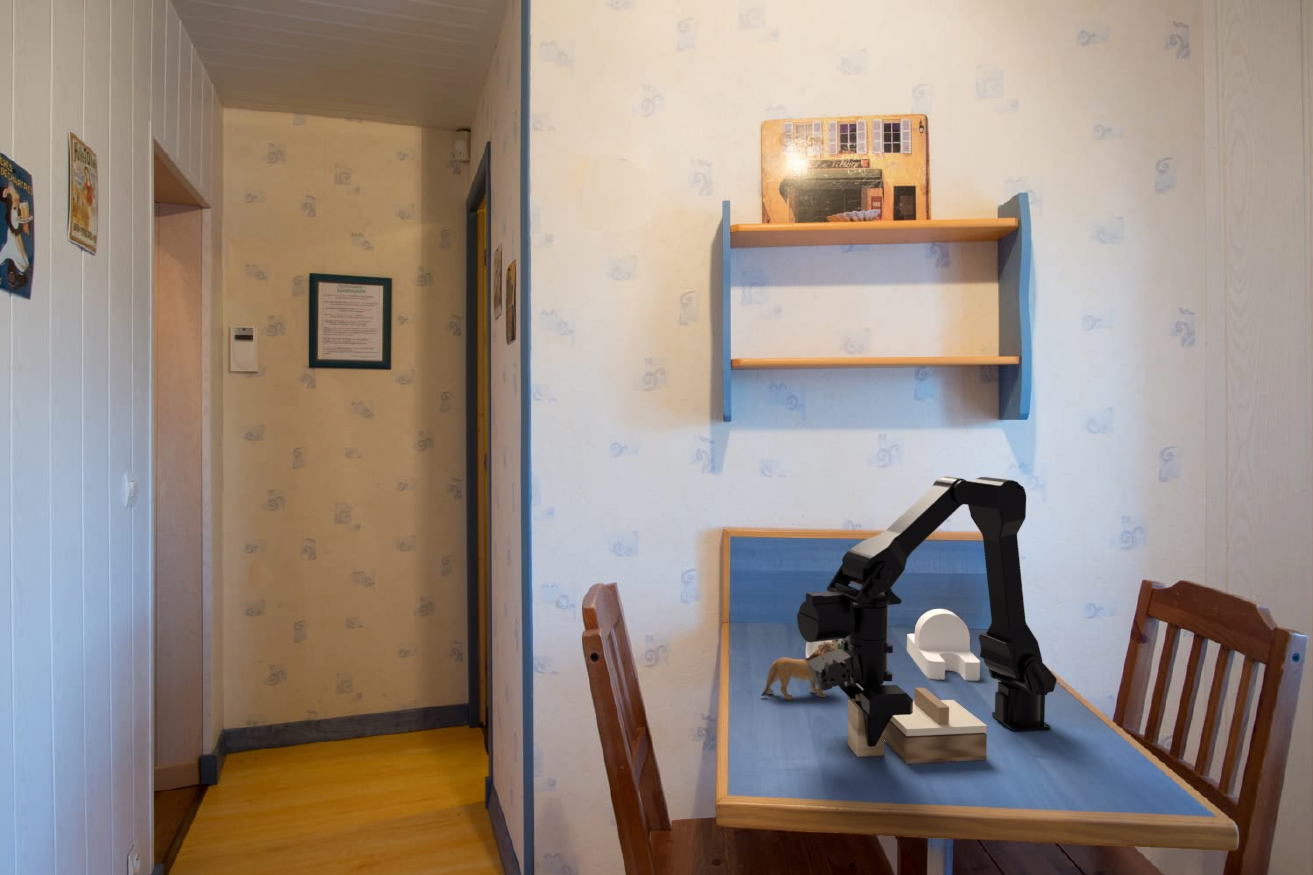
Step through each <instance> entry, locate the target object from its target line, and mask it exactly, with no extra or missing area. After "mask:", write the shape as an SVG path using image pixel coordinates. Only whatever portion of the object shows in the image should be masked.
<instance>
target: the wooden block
mask: <svg viewBox="0 0 1313 875" xmlns="http://www.w3.org/2000/svg"><path fill="white" fill-rule="evenodd" d="M854 701H860V694H856V699H848V698H847V702H848V703H847V704H848V705H847V707H848V708H847V709H848V710H847V713H848V714H847V746H848V747H849V749H851V751H852V752H853V754H854V755H855V756H856V757H858V758H859V757H861V758H862V757H878V756H885V741H884V732H883V733H882V735H881V737H880V739H879V741H878V742H877V744H876V746H873V747H869V746H868V745H867V739H866V732H865V724H864V715H863V711H862V710H861V709H860V708H859V707H858V706H857V705H856V704H855V703H854ZM884 731H885V730H884Z"/></svg>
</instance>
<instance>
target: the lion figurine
mask: <svg viewBox="0 0 1313 875" xmlns="http://www.w3.org/2000/svg"><path fill="white" fill-rule="evenodd" d="M836 650H838V645H836V644H834V643H832V642H829V641H828V642H824V643H821V644H819V645H818V649H817V650H816V651H815V652H813V654H812V655H810V656H809V657H808V658H806V657H805V658H803V659H802V658H801V659H799V658H797V659H796V658H795V659H794V658H791V657H786V656H785V657H780V658H778V659H776V660H774V662H773V663H772V664H771V666H770V668H769V671H768V674H767V679H766V685H765V688H764V690H763V692H762V693H761V695H760V696H761V697H765V696H766V695H767V694H769V695H773V694H774V693H775V690H774V689H772V688H771V687H772V686H773V684H775V683H777V681H780V692H781V693H782V695H783V697H784V698H785V700H787V701H789V700H790V701H791V700H793V699H794V698H793V696H792V695H791V694H788V690H787V688H788V685H789V683H790V681H791V678H793V679H795V680H798V681H809V691H810V693H812V694H816V692H817V694H818V697H819V698H821V697H826V698H827V696H826V694H825V693H823V692H824V691H823V690H821V689H820V688H819V687H818V685H817V684H815V683H814V681H813V678H812V675H811V672H810V669H809V666H808V661H809V660H811V659H813V658H816V657H818V656H821V655H823V654H826V653H828V652H831V651H836ZM816 687H817V688H816Z"/></svg>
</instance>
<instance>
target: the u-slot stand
mask: <svg viewBox="0 0 1313 875" xmlns="http://www.w3.org/2000/svg"><path fill="white" fill-rule="evenodd" d="M970 644H971V639H970V631H969V629H968V626H967V625H966V623H965V622H964V621H963V620H962V619H961V618H960V617H959V616H958V615H957V614H955V613H954V612H952V611H951V610H948V609H945V608H936V609H935V608H934V609H933V608H932V609H930V610H928V611H926V612H924V613H923V614H922V615H921V616H920V617H919V618H918V620H917V622H916V624H915V628H914V633H908V634H906V652H907V653H908V654H909V656H910V657H911V659H912V660H913V662H915V664H916V665H917V666H918V668H919V669H920V670H921V671H922V673H923V674H924V675H926V676H927V677H928V678H927V677H926V676H925V677H926V678H927V679H930V680H940V679H941V680H945V679H946V671H949V672H950V671H951V672H955V673H958V675H959V676H961V678H962V679H963V680H964V681H971V682H973V681H975V682H976V681H980V677H981V676H980V674H981V660H980V659H979V658H977V656H976V655H975V654H974V653H973V652H972V651H971V646H970Z"/></svg>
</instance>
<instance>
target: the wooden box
mask: <svg viewBox="0 0 1313 875" xmlns="http://www.w3.org/2000/svg"><path fill="white" fill-rule="evenodd" d="M987 737H988V734H986V733H966V734H944V735H921V736H906V735H905V734H904V733H903V732H902V731H901V730H900V729H899V728H898V727H897V726H896V725H895V724H894V723H893V722H892V721H891V720H890V721H889V723H888V724H887V726H886V728H885V731H884V740H885V741H886V742H885V741H884V742H885V743H886V744H887V745H888V746H889V748H890V749H892V751H893V752H894V753H895V754H896V755H897V756H898V757H899V758H900V759H901V760H902V761H903V762H904V763H905V765H912V764H930V763H931V764H932V763H950V762H951V761H952V762H953V761H955V762H971V761H972V762H973V761H974V760H975V761H986V760H987V744H988V743H987V742H988V741H987V740H988V738H987ZM952 762H951V763H952ZM953 763H954V762H953Z"/></svg>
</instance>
